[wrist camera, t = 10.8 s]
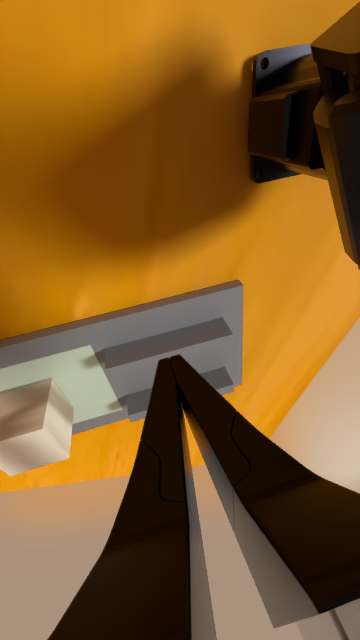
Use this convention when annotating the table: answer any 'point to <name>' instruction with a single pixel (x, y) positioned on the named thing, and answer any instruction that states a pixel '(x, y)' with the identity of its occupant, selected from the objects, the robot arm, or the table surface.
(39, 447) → the block
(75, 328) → the twin rail plate
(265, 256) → the table surface
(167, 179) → the table surface
